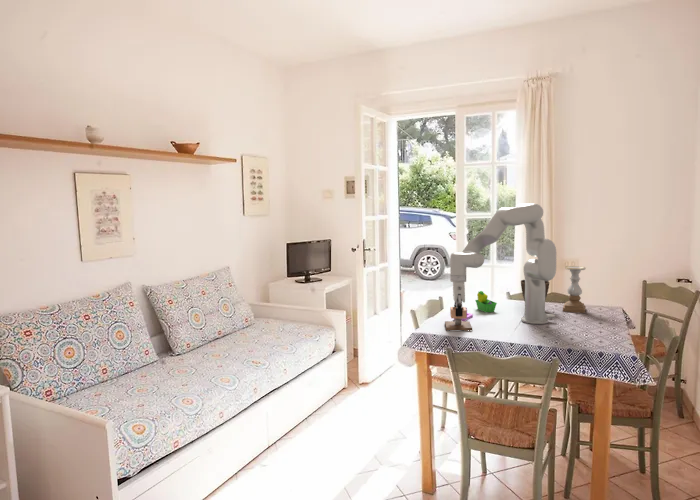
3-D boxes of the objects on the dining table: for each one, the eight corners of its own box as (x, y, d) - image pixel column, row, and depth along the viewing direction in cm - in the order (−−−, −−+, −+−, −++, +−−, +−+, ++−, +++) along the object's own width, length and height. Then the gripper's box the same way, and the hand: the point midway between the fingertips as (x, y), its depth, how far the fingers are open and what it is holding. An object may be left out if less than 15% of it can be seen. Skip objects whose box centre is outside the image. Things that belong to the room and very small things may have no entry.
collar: (464, 314, 241) (464, 307, 241) (466, 318, 234) (466, 310, 234) (450, 314, 242) (450, 306, 241) (451, 318, 235) (451, 310, 235)
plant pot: (553, 312, 263) (553, 283, 261) (525, 313, 263) (525, 284, 262) (542, 306, 278) (543, 278, 276) (516, 307, 278) (516, 279, 276)
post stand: (469, 324, 244) (469, 309, 243) (472, 331, 232) (472, 315, 231) (444, 324, 245) (444, 309, 244) (446, 330, 233) (446, 315, 233)
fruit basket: (497, 312, 267) (497, 291, 266) (482, 313, 265) (483, 293, 264) (486, 307, 278) (486, 288, 277) (472, 308, 276) (472, 289, 275)
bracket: (463, 321, 250) (463, 308, 249) (453, 320, 253) (453, 307, 253) (474, 316, 260) (474, 303, 259) (464, 315, 264) (464, 302, 263)
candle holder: (585, 308, 270) (586, 266, 268) (584, 313, 261) (586, 269, 258) (564, 307, 275) (565, 265, 273) (562, 311, 266) (563, 268, 263)
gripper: (468, 281, 227) (468, 318, 229) (464, 275, 244) (464, 310, 246) (451, 281, 228) (451, 318, 230) (449, 275, 245) (449, 310, 247)
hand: (458, 314), depth 238 cm, fingers closed on collar, 7 cm apart
